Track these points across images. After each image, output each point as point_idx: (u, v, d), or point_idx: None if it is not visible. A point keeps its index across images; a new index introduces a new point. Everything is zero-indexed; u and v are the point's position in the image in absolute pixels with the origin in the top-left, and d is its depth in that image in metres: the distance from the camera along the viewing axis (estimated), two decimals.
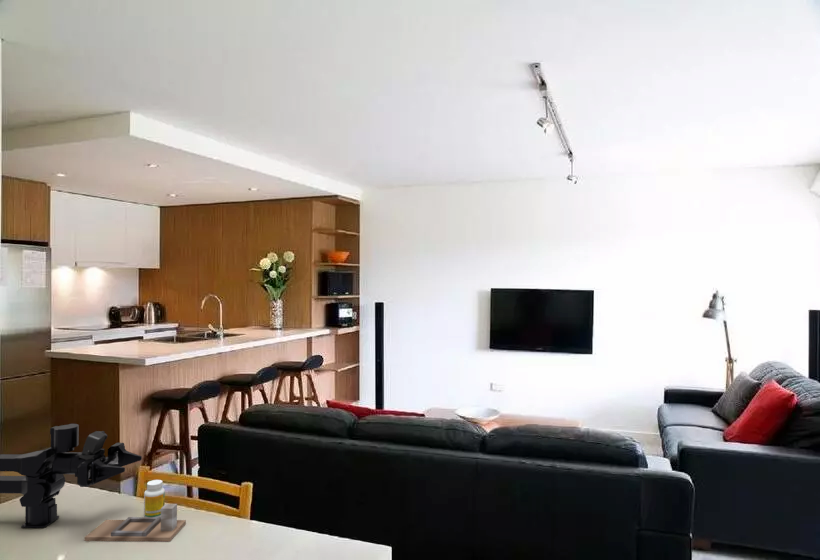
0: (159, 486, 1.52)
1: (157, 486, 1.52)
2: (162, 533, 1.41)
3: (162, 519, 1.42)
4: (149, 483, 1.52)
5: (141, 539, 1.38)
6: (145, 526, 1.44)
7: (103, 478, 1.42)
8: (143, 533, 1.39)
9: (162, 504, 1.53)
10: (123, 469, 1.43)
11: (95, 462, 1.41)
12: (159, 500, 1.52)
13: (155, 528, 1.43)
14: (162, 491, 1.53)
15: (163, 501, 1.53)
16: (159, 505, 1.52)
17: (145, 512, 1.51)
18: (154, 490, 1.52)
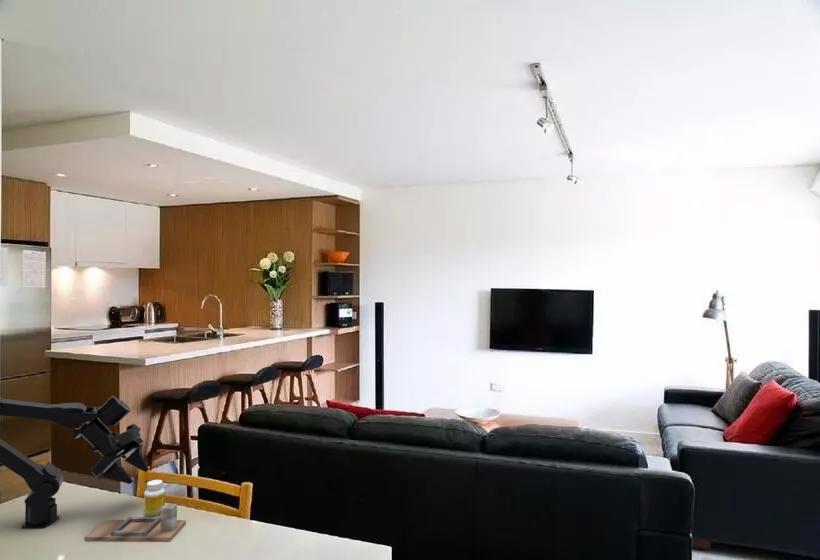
0: (159, 486, 1.52)
1: (157, 486, 1.52)
2: (162, 533, 1.41)
3: (162, 519, 1.42)
4: (149, 483, 1.52)
5: (141, 539, 1.38)
6: (145, 526, 1.44)
7: (111, 477, 1.47)
8: (143, 533, 1.39)
9: (162, 504, 1.53)
10: (131, 482, 1.48)
11: (117, 462, 1.46)
12: (159, 500, 1.52)
13: (155, 528, 1.43)
14: (162, 491, 1.53)
15: (163, 501, 1.53)
16: (159, 505, 1.52)
17: (145, 512, 1.51)
18: (154, 490, 1.52)
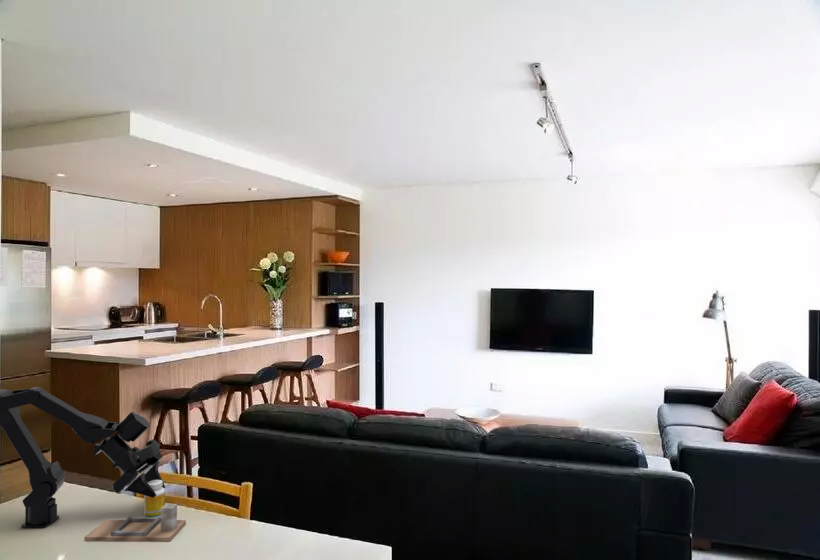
0: (159, 486, 1.52)
1: (157, 486, 1.52)
2: (162, 533, 1.41)
3: (162, 519, 1.42)
4: (149, 483, 1.52)
5: (141, 539, 1.38)
6: (145, 526, 1.44)
7: (135, 491, 1.49)
8: (143, 533, 1.39)
9: (162, 504, 1.53)
10: (154, 495, 1.50)
11: (141, 476, 1.48)
12: (159, 500, 1.52)
13: (155, 528, 1.43)
14: (162, 491, 1.53)
15: (163, 501, 1.53)
16: (159, 505, 1.52)
17: (145, 512, 1.51)
18: (154, 490, 1.52)
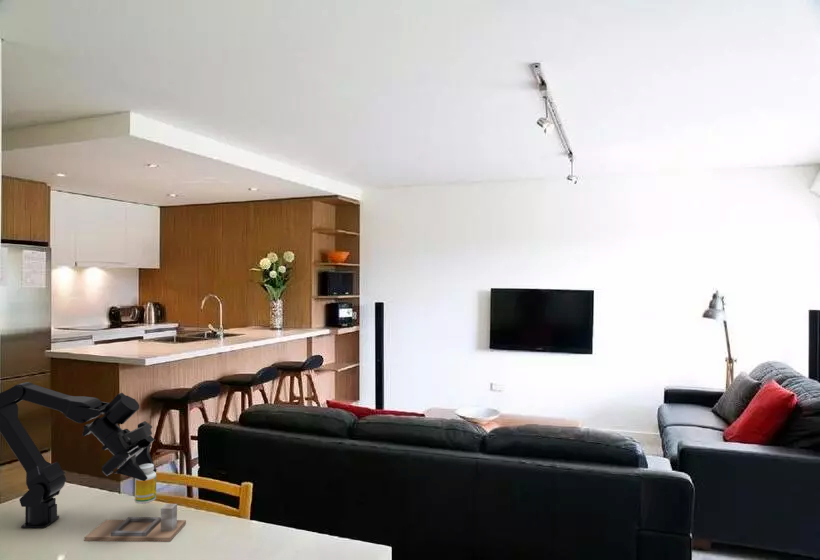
0: (150, 470, 1.47)
1: (148, 469, 1.47)
2: (162, 533, 1.41)
3: (162, 519, 1.42)
4: (140, 466, 1.47)
5: (141, 539, 1.38)
6: (145, 526, 1.44)
7: (126, 473, 1.44)
8: (143, 533, 1.39)
9: (153, 488, 1.48)
10: (145, 479, 1.45)
11: (132, 458, 1.43)
12: (151, 484, 1.47)
13: (155, 528, 1.43)
14: (153, 475, 1.48)
15: (154, 485, 1.48)
16: (150, 489, 1.47)
17: (136, 496, 1.46)
18: (146, 473, 1.47)
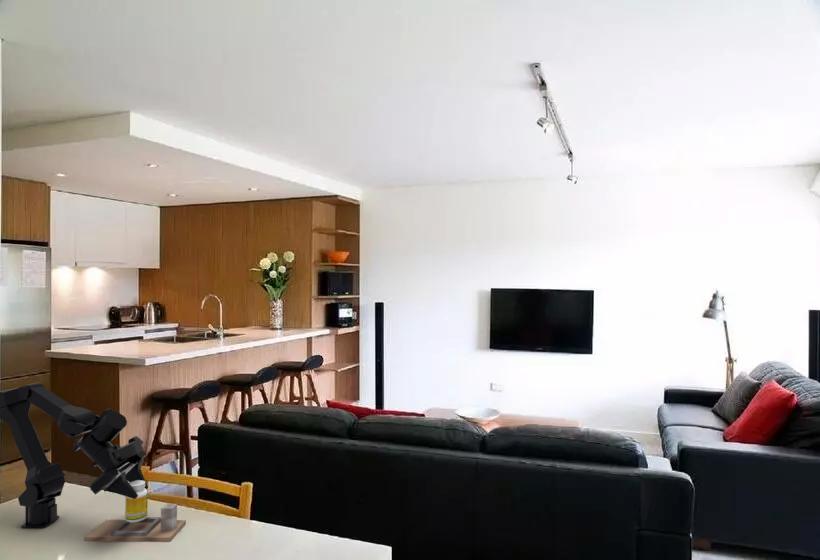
0: (141, 487, 1.42)
1: (139, 487, 1.42)
2: (162, 533, 1.41)
3: (162, 519, 1.42)
4: (131, 484, 1.42)
5: (141, 539, 1.38)
6: (145, 526, 1.44)
7: (115, 491, 1.39)
8: (143, 533, 1.39)
9: (144, 506, 1.43)
10: (136, 496, 1.40)
11: (122, 475, 1.38)
12: (142, 502, 1.42)
13: (155, 528, 1.43)
14: (144, 492, 1.43)
15: (146, 503, 1.43)
16: (141, 508, 1.42)
17: (126, 515, 1.41)
18: (136, 491, 1.42)
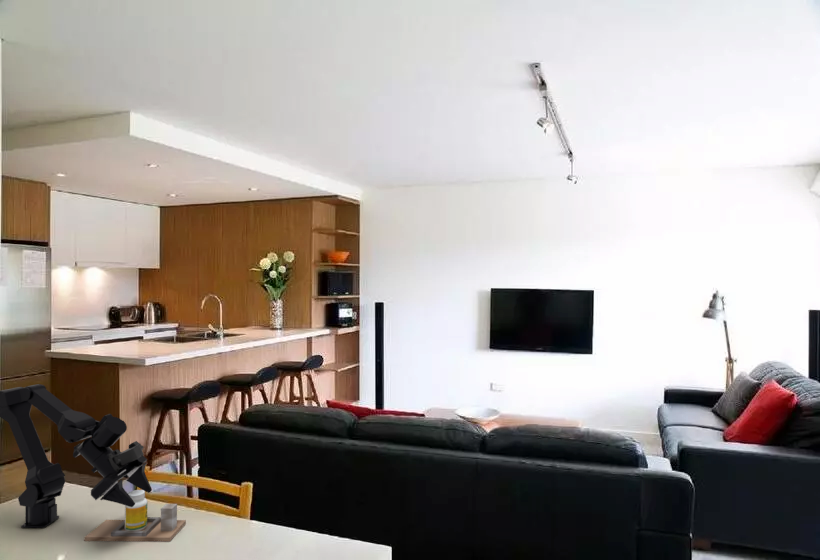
0: (141, 497, 1.42)
1: (138, 496, 1.42)
2: (162, 533, 1.41)
3: (162, 519, 1.42)
4: (130, 493, 1.42)
5: (141, 539, 1.38)
6: None
7: (112, 500, 1.37)
8: (143, 533, 1.39)
9: (144, 516, 1.43)
10: (133, 505, 1.38)
11: (118, 483, 1.36)
12: (141, 512, 1.42)
13: (155, 528, 1.43)
14: (144, 502, 1.43)
15: (145, 513, 1.43)
16: (140, 517, 1.42)
17: (126, 525, 1.41)
18: (136, 501, 1.42)
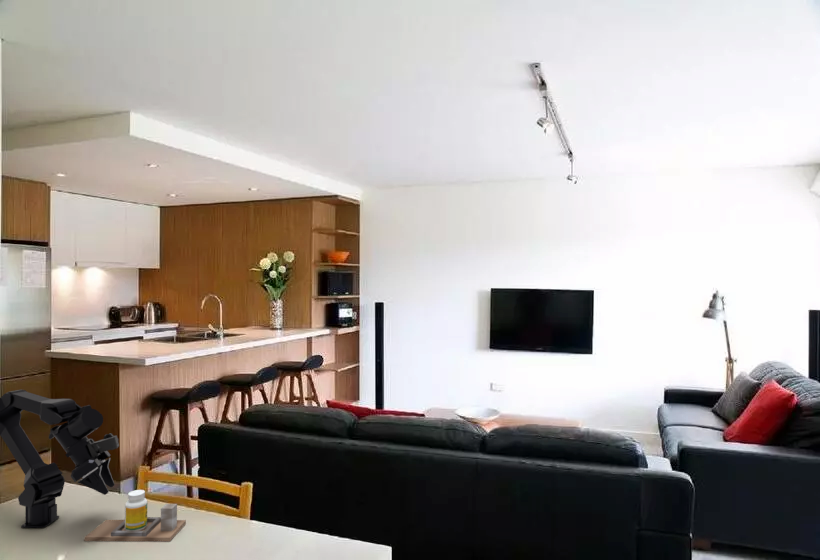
0: (141, 497, 1.42)
1: (138, 496, 1.42)
2: (162, 533, 1.41)
3: (162, 519, 1.42)
4: (130, 493, 1.42)
5: (141, 539, 1.38)
6: None
7: (88, 485, 1.38)
8: (143, 533, 1.39)
9: (144, 516, 1.43)
10: (106, 492, 1.41)
11: (100, 468, 1.39)
12: (141, 512, 1.42)
13: (155, 528, 1.43)
14: (144, 502, 1.43)
15: (145, 513, 1.43)
16: (140, 517, 1.42)
17: (126, 525, 1.41)
18: (136, 501, 1.42)
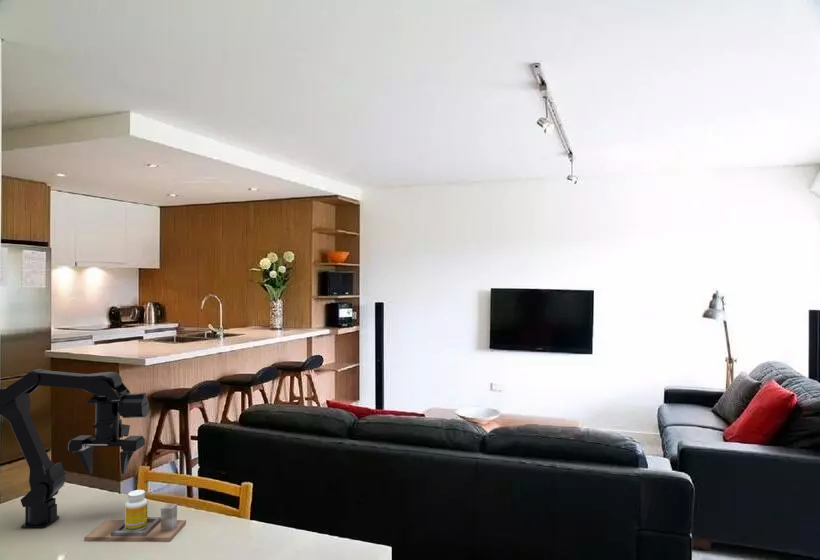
0: (141, 497, 1.42)
1: (138, 496, 1.42)
2: (162, 533, 1.41)
3: (162, 519, 1.42)
4: (130, 493, 1.42)
5: (141, 539, 1.38)
6: None
7: (125, 459, 1.48)
8: (143, 533, 1.39)
9: (144, 516, 1.43)
10: (124, 472, 1.50)
11: None
12: (141, 512, 1.42)
13: (155, 528, 1.43)
14: (144, 502, 1.43)
15: (145, 513, 1.43)
16: (140, 517, 1.42)
17: (126, 525, 1.41)
18: (136, 501, 1.42)
